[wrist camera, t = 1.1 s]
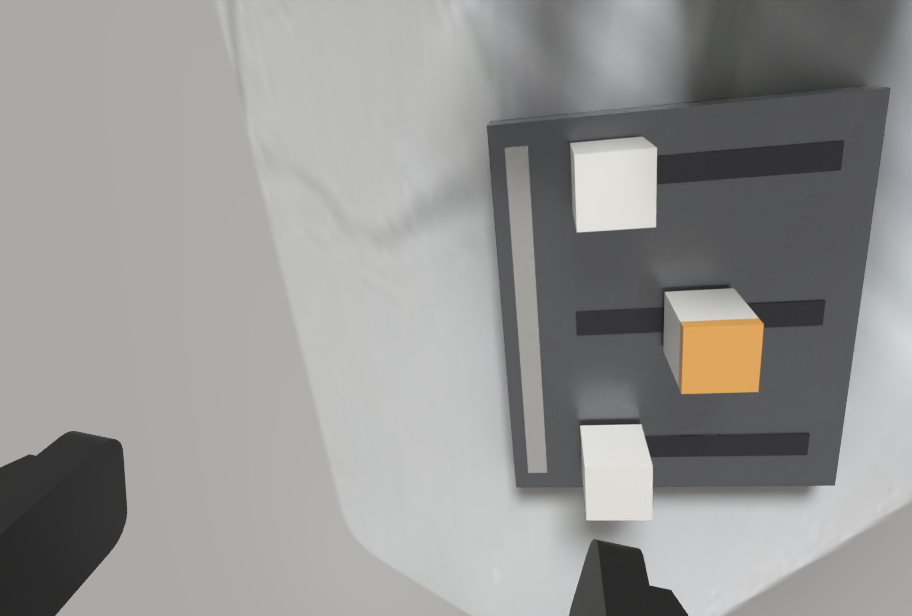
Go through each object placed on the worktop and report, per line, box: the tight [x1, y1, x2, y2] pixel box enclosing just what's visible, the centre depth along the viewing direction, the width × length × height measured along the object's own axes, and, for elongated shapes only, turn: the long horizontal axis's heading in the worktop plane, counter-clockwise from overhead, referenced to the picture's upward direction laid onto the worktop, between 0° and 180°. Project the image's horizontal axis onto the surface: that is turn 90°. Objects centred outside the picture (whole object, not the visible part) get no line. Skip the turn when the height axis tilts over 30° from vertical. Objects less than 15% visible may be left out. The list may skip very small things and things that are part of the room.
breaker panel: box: [487, 86, 890, 487], centre depth 30 cm, size 16×19×2 cm
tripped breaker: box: [663, 288, 764, 394], centre depth 27 cm, size 3×3×4 cm
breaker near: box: [570, 137, 657, 233], centre depth 25 cm, size 3×3×4 cm
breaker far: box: [580, 424, 653, 521], centre depth 30 cm, size 3×3×4 cm
